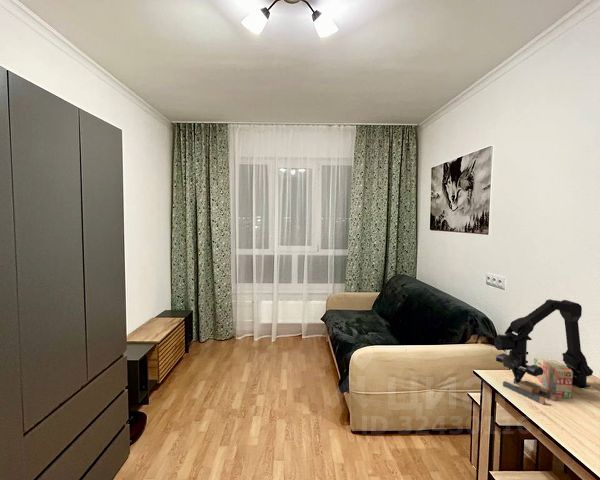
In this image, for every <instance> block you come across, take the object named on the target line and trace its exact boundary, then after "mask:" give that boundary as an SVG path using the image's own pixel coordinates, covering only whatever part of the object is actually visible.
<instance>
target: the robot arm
mask: <svg viewBox="0 0 600 480" xmlns="http://www.w3.org/2000/svg"><path fill="white" fill-rule="evenodd" d="M582 307H583V306H582V305H581V304H580V303H578V302H575V301H571V300H567V299H563V300H556V299H555V300H554V299H546V300H545V302H544V303H542V304H541V305H540V306H538V307H537V308H535V309H534V310H533V311H531V312H530V313H528V314H527V315H525V316H523V317H519V318H516V319H515V320H512V321H511V322H510V323H509V324H510V325H509V326H508V327H507V329H506V330H505V331H504V334H497V335H496V337H495V338H494V340H493V344H494V347H495V349H496V350H497V351H509V352H508V354H507V353H504V352H503V353H500V354H497V355H496V356H495V361H496V362H498V363H500V364H502V365H503V367H504V368H508V369H510V370H511V372H512V374H513V376H514V378H515V380H516V382H517V383H519V382H520V381H521V380H522V379H523V377H524V376H525V375H526V374H528V375H530V376H533V377H535V376H538V375H542V374H543V369H542V368H541V367H539V366H536V365H534V364H532V365H531V364H530V365H528V364H529V361H528V360H527V356H528V355H529V351H527V348H528V347H527V346H528V341H533V339H532V337H531V336H529V335H530V334H531V333H532V332H533V331H534V328H535V326H536V325H537V324H538V323H540V322H542V321H543V320H544V319H545V318H547V317H548V316H550V315H551V314H553V313H554V312H555V311H559V315H561V317H562V318H563V320H564V328H565V337H566V338H565V339H566V347H567V348H566V349H567V350H566V351H565V352H562V362H564V363H563V364H564V365H565V366H567V367H568V368H569V369H570V370H571V371H573V377H572V386H574V387H576V388H578V389H582V390H584V389H586V388H588V387H591V384H588V383H587V380H588V379H587V378H588V377H591V376H593V374H594V370H593V369H592V368H591V367H589V365H588V361H587V358H586V356H585V355H584V353H583V351H582V347H581V339H580V337H581V335H580V328H579V327H580V326H579V320H580V318H581V317H582V315H583V314H582V313H583V311H582V310H583V309H582Z"/></svg>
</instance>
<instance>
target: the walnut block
mask: <svg viewBox="0 0 600 480" xmlns="http://www.w3.org/2000/svg"><path fill="white" fill-rule="evenodd" d="M522 381H523V382H519V385H518V384H517V385H518V386H517V387H519V388H522V389H524V390H526V391H528V392H530V393H533V394H535V395H537V396H539V395H540V394H539V388H540V385H538V384H535V383H532V382H530V381H528V380H522Z"/></svg>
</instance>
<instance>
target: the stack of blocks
mask: <svg viewBox="0 0 600 480" xmlns="http://www.w3.org/2000/svg"><path fill="white" fill-rule="evenodd" d="M533 365H536V366H539V367H541V368H542V369H543V374H542V375H538V376H534V377H535V378H536V380H538V382H539V383H541V384H542V385H543V386H544V387H545V388H546V389H547V390H548V392H550V393H555V394H557V398H558V397H561V398H560V399H563V398H564V399H570V398H571V399H572V393H573V392H572V389H573V385H572V377H573V371H571V370H570V369H569V368H568V367H567V366H566V364H565V363H563V362H561V361H560V360H558V359H549V358H546V357H533Z"/></svg>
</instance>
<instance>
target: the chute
mask: <svg viewBox="0 0 600 480" xmlns="http://www.w3.org/2000/svg"><path fill="white" fill-rule="evenodd" d="M523 381H524V380H522V379H521V381H520V382H523ZM513 383H514V384H512V383H510V382H508V381H506V380H505V381H502V387H504V388H506V389H509V390H510V391H513V392H515V393H517V394H519V395H521V396H523V397H525V398H527V397H528V399H530V400H532V401H534V402H536V403H539V404H540V405H546V398H547V399H548V400H549V399H550V400H551V401H554V402H555V401H557V399H558V397H557V394H555V393H551V392H550V391H547V390H545V389H543V388H540V387H539V395H541V396H539V395H535V394H533V393H530V392H528V391H526V390H524V389H522V388H519V387H518V386H517V385H519V383H517V382H516V380H515V377H514V378H513Z"/></svg>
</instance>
